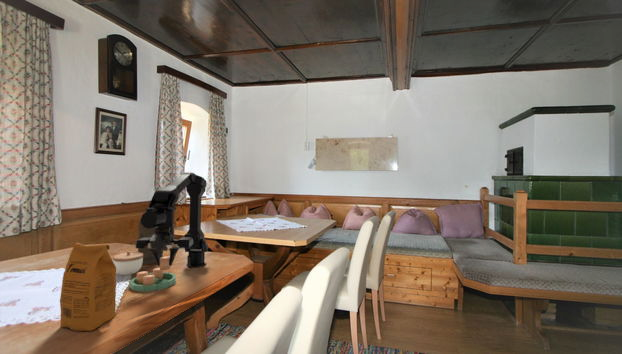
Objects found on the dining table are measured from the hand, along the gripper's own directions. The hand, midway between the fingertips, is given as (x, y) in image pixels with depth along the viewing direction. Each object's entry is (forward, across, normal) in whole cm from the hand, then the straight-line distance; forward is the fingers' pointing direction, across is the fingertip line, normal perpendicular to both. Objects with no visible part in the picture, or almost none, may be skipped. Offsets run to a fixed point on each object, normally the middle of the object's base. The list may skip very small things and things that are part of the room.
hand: (165, 265), depth 113 cm
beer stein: (+8, -17, +34) cm, 39 cm away
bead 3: (+6, -4, +4) cm, 9 cm away
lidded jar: (+8, -20, +14) cm, 25 cm away
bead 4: (+1, 0, 0) cm, 1 cm away
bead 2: (+6, -4, -4) cm, 9 cm away
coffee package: (+8, -10, -28) cm, 30 cm away
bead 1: (+6, -8, 0) cm, 10 cm away
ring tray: (+7, -4, 0) cm, 8 cm away
